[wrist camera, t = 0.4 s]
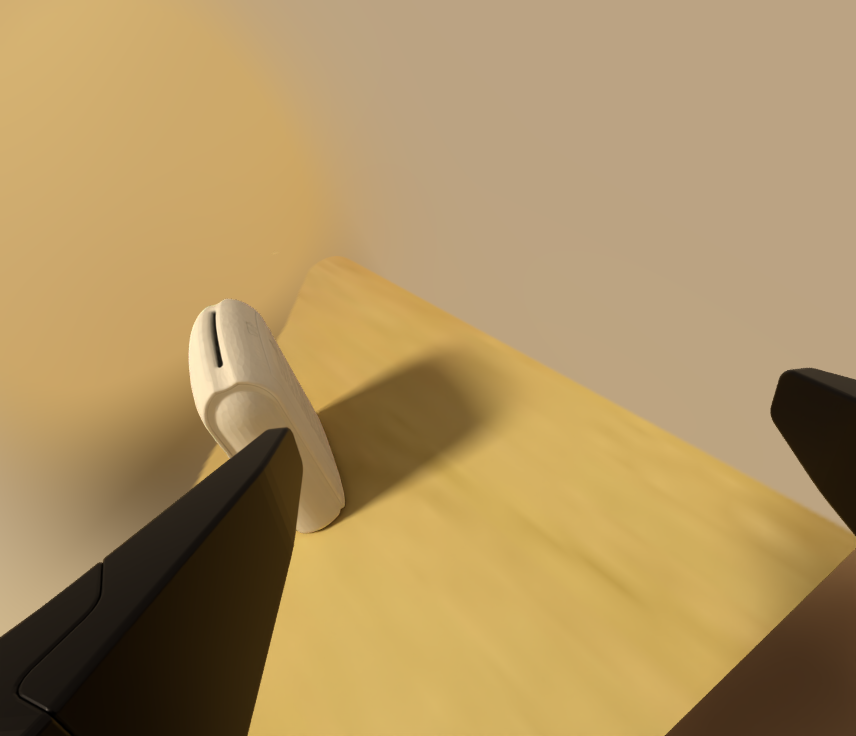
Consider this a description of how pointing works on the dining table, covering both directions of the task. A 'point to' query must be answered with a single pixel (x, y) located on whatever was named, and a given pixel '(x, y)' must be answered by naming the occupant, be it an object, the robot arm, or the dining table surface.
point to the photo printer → (260, 401)
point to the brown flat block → (792, 673)
